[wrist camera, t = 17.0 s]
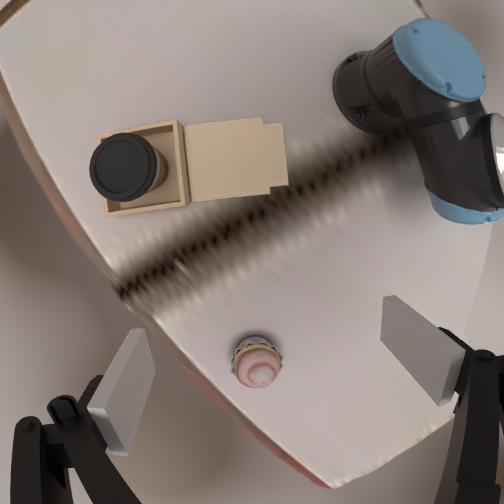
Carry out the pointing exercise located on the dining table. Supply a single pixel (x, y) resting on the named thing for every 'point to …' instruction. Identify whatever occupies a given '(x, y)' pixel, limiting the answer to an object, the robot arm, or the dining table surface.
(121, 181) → the coffee cup
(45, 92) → the dining table surface
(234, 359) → the cupcake
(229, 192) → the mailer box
